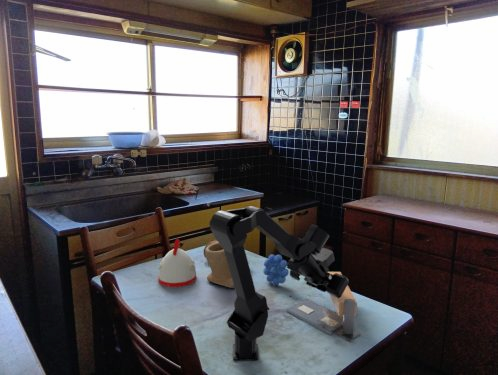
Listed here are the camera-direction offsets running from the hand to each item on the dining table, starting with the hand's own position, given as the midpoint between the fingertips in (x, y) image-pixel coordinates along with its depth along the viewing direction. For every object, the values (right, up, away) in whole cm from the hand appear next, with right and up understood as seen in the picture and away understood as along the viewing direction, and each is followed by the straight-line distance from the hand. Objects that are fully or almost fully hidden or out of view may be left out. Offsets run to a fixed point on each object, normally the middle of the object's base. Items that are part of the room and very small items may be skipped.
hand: (328, 290), depth 120 cm
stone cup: (-34, -3, +19) cm, 39 cm away
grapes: (-15, -3, +19) cm, 24 cm away
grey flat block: (+3, -9, -12) cm, 16 cm away
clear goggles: (-37, +2, +43) cm, 57 cm away
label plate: (-4, -7, -3) cm, 9 cm away
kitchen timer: (-52, -2, +23) cm, 57 cm away
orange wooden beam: (+3, -6, -2) cm, 7 cm away
